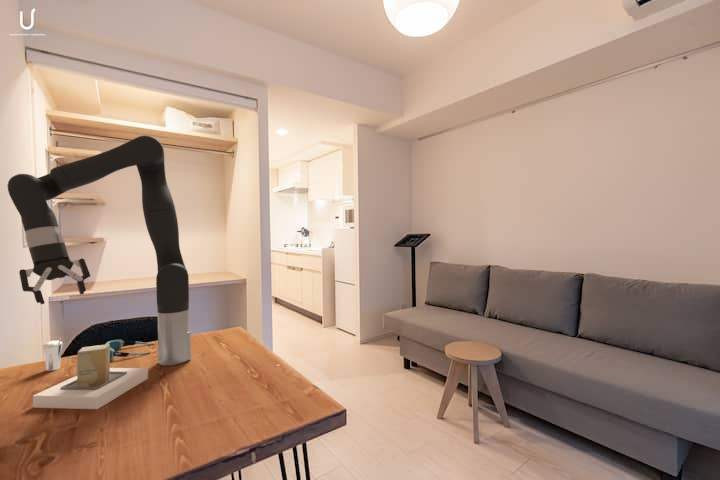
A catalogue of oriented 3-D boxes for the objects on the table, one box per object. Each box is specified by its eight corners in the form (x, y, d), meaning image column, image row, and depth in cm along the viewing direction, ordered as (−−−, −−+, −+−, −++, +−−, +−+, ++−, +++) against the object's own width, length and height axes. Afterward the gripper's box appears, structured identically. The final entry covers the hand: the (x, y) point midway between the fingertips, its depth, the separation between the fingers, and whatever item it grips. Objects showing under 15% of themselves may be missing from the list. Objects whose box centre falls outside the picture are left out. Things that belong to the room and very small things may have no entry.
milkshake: (52, 372, 100) (52, 341, 100) (39, 371, 101) (38, 340, 101) (68, 367, 105) (68, 336, 105) (55, 366, 106) (55, 335, 106)
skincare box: (76, 398, 84) (75, 352, 84) (82, 391, 88) (81, 347, 88) (107, 392, 87) (106, 347, 87) (111, 386, 91) (110, 343, 91)
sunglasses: (108, 350, 121) (110, 337, 121) (155, 349, 127) (156, 336, 128) (98, 363, 108) (100, 348, 108) (150, 361, 115) (152, 347, 115)
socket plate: (94, 377, 96) (94, 366, 96) (147, 378, 95) (147, 367, 95) (33, 407, 80) (32, 394, 80) (97, 409, 78) (97, 395, 78)
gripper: (11, 248, 84) (29, 307, 84) (80, 237, 94) (96, 290, 95) (10, 252, 89) (27, 308, 89) (77, 241, 99) (92, 291, 100)
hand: (63, 298), depth 92 cm, fingers open, 8 cm apart
